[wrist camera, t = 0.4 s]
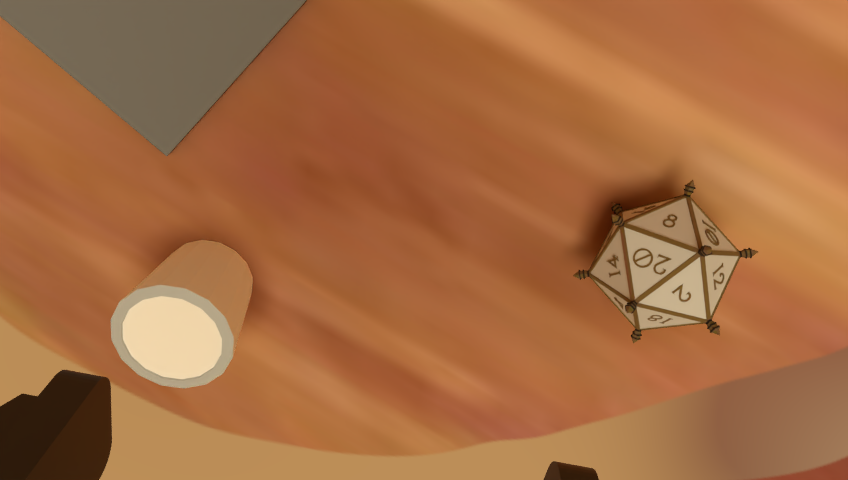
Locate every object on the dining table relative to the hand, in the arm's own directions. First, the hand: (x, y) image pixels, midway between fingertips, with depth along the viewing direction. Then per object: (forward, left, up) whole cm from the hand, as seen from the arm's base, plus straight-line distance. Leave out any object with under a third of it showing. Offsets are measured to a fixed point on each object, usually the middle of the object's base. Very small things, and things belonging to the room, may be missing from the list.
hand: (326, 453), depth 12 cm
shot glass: (+13, -11, -29) cm, 34 cm away
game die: (+7, +16, -29) cm, 34 cm away
